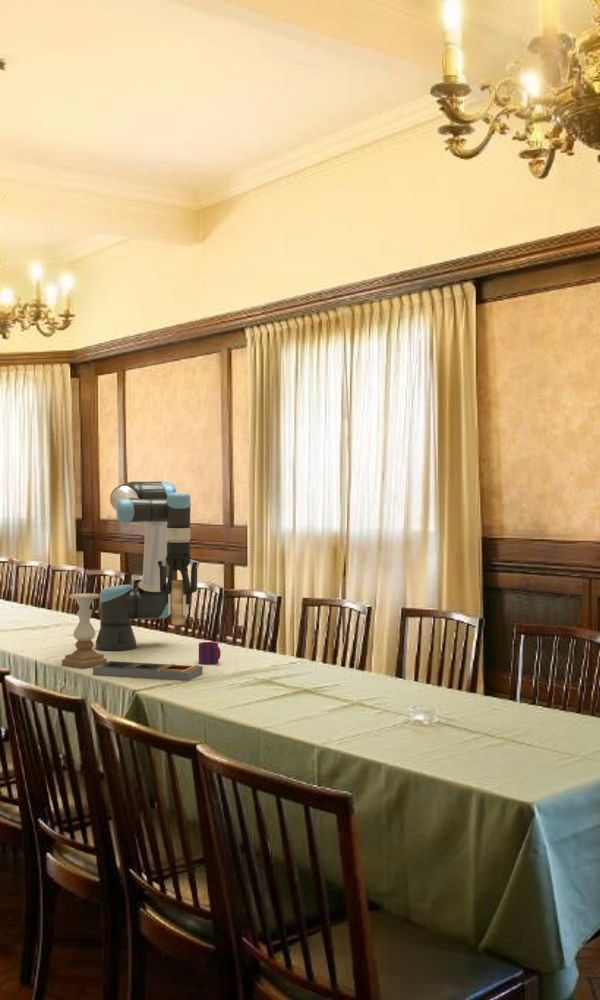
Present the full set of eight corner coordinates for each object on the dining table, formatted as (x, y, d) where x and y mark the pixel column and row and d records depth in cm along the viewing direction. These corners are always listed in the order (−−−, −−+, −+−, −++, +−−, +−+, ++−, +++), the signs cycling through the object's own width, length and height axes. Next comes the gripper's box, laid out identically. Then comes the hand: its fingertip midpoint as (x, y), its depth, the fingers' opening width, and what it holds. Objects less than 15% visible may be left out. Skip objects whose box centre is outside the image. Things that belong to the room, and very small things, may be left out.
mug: (212, 660, 352) (212, 641, 352) (226, 664, 344) (226, 645, 344) (195, 662, 349) (195, 642, 349) (208, 666, 340) (208, 646, 340)
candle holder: (82, 668, 335) (82, 597, 335) (61, 665, 342) (61, 594, 342) (107, 664, 344) (107, 594, 344) (86, 661, 351) (86, 592, 350)
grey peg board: (109, 668, 336) (109, 660, 336) (202, 674, 327) (202, 665, 327) (92, 674, 324) (92, 666, 324) (188, 680, 315) (188, 671, 315)
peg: (174, 622, 325) (174, 579, 325) (187, 623, 324) (187, 579, 324) (169, 624, 321) (169, 580, 321) (182, 625, 320) (182, 581, 320)
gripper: (148, 541, 321) (148, 614, 321) (199, 542, 316) (199, 616, 316) (158, 540, 328) (158, 612, 328) (208, 541, 323) (208, 614, 324)
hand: (178, 614), depth 322 cm, fingers closed on peg, 4 cm apart
